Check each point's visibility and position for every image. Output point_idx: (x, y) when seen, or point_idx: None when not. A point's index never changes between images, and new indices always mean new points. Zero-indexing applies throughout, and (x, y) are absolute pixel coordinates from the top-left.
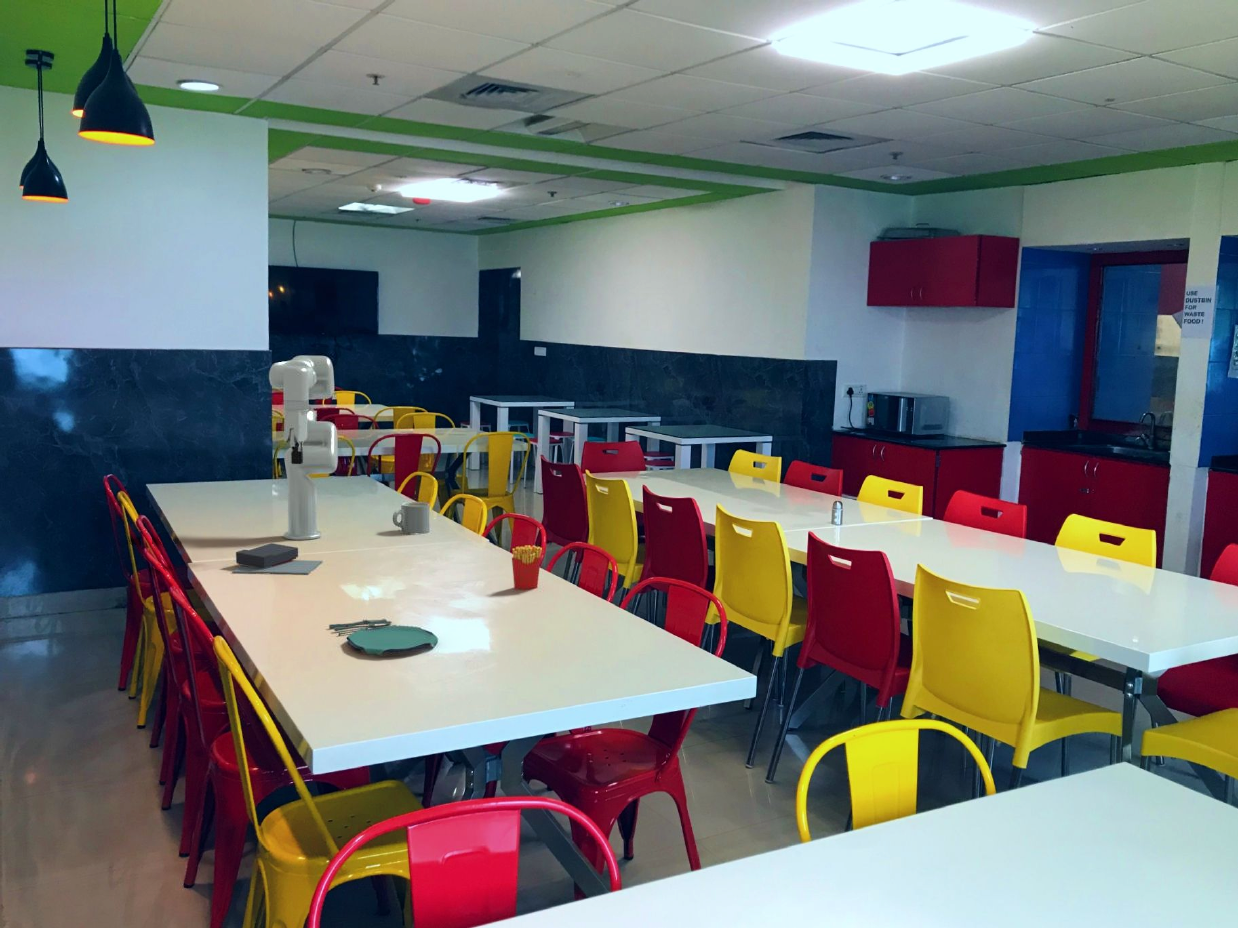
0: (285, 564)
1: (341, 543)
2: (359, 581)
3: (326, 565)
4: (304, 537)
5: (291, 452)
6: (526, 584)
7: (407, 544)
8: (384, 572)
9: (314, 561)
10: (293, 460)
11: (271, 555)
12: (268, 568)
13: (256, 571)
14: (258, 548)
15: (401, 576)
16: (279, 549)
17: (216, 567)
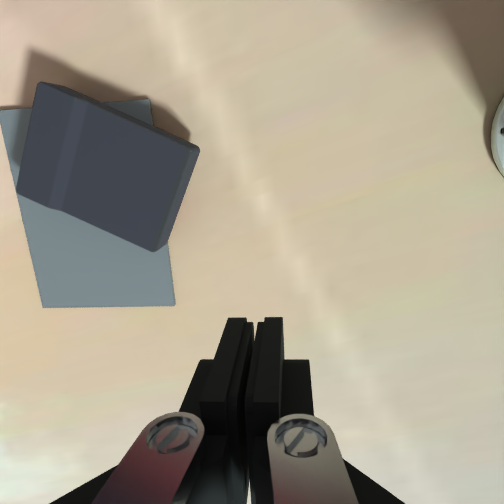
0: None
1: (437, 289)
2: (22, 421)
3: (145, 322)
4: (496, 156)
5: (205, 393)
6: None
7: (427, 457)
8: (110, 452)
9: (161, 288)
10: (201, 361)
11: (48, 207)
12: None
13: (16, 177)
14: (120, 130)
15: None
16: (123, 203)
17: (47, 27)
